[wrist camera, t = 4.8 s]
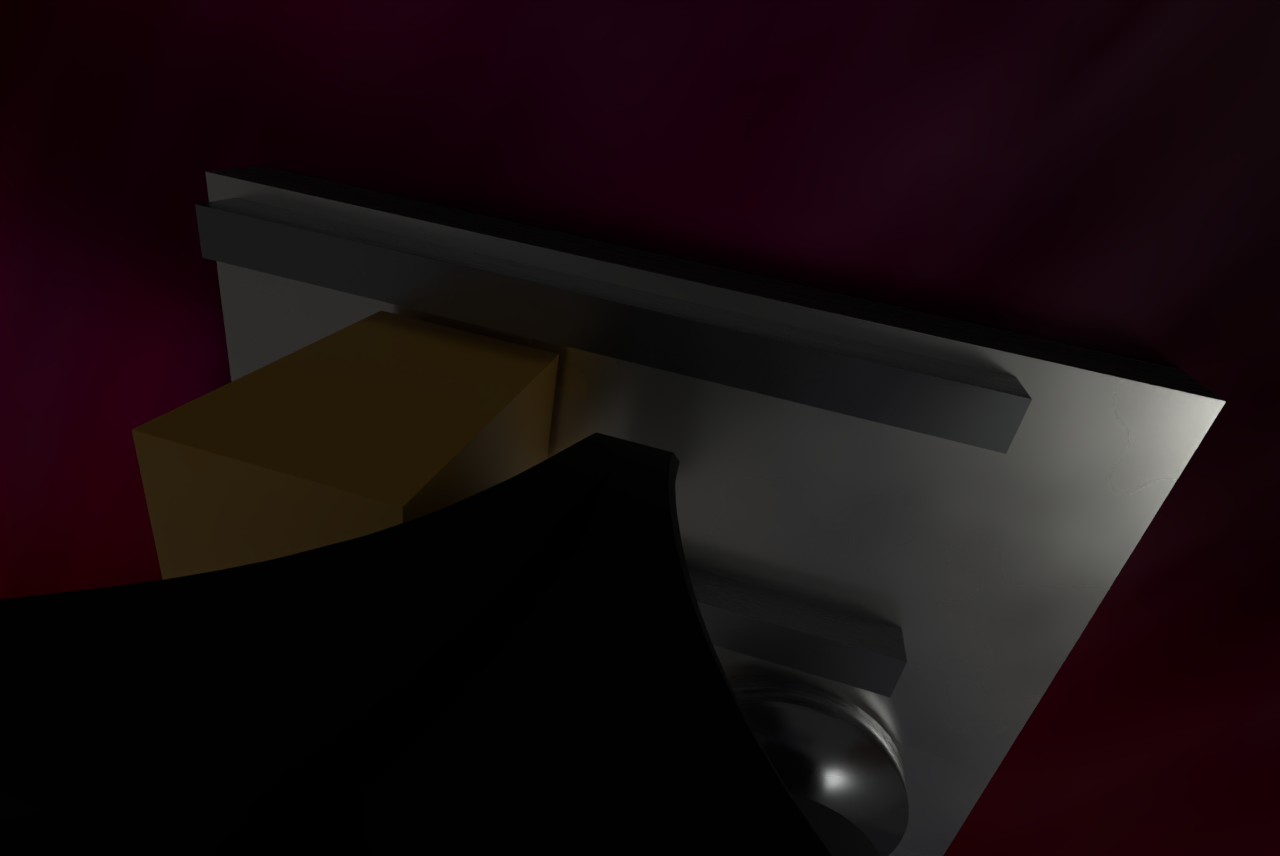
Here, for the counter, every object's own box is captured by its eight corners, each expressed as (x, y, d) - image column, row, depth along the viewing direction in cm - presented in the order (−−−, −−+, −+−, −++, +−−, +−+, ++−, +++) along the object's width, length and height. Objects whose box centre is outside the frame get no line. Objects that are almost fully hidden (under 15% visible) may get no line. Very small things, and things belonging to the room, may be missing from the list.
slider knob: (559, 354, 10) (402, 507, 7) (540, 513, 12) (402, 719, 8) (380, 310, 11) (132, 428, 7) (382, 469, 12) (175, 644, 8)
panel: (1182, 369, 10) (1544, 636, 5) (825, 989, 18) (827, 1319, 13) (259, 165, 12) (-138, 210, 7) (317, 808, 20) (155, 1036, 15)
